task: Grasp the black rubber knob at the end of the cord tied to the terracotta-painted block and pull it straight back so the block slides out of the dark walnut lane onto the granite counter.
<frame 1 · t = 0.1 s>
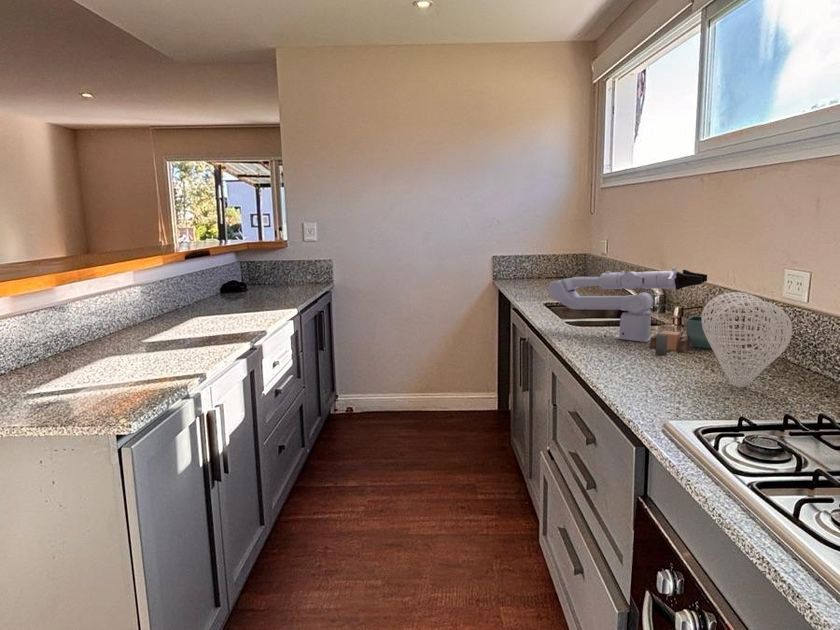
hand: (704, 279, 178), 22 cm above the worktop, tool horizontal, fingers open, 7 cm apart
lane: (669, 348, 180), on the worktop
flower pot: (701, 347, 182), on the worktop
tethered block: (669, 348, 180), on the worktop
heart: (737, 387, 137), on the worktop
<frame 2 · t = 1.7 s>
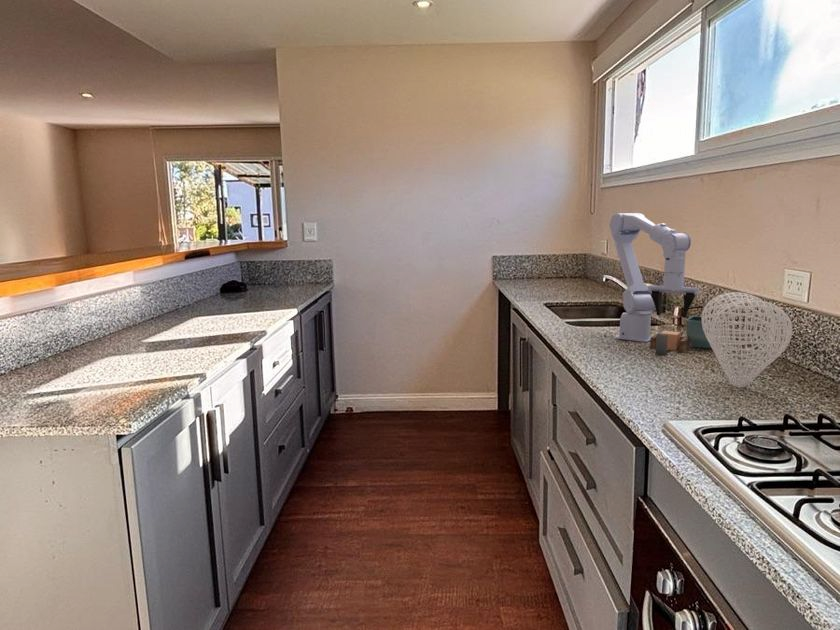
hand: (671, 316, 177), 10 cm above the worktop, tool pointing down, fingers open, 7 cm apart
nothing on the worktop moved.
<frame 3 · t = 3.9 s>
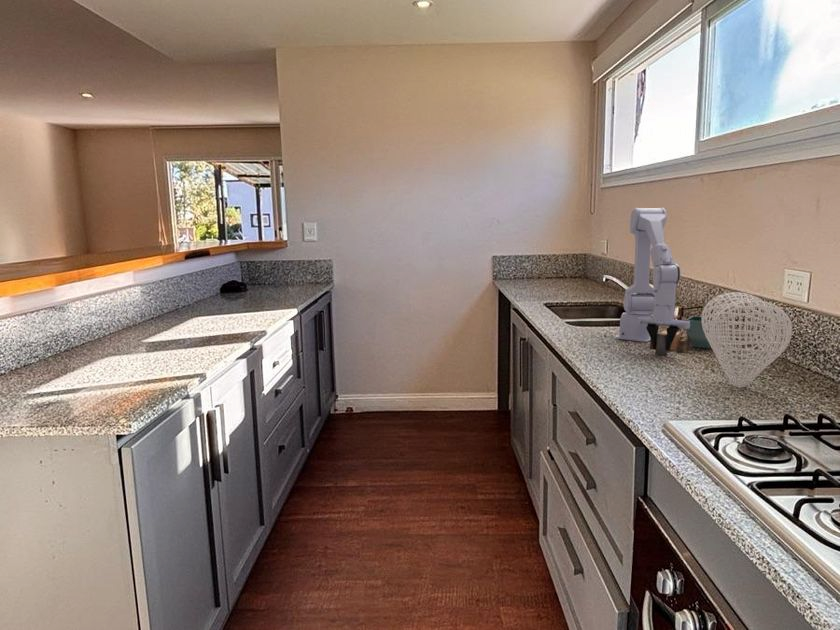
hand: (661, 349, 171), 1 cm above the worktop, tool pointing down, fingers closed on tethered block, 3 cm apart
tethered block: (669, 348, 180), on the worktop, touching gripper
everything else where it was.
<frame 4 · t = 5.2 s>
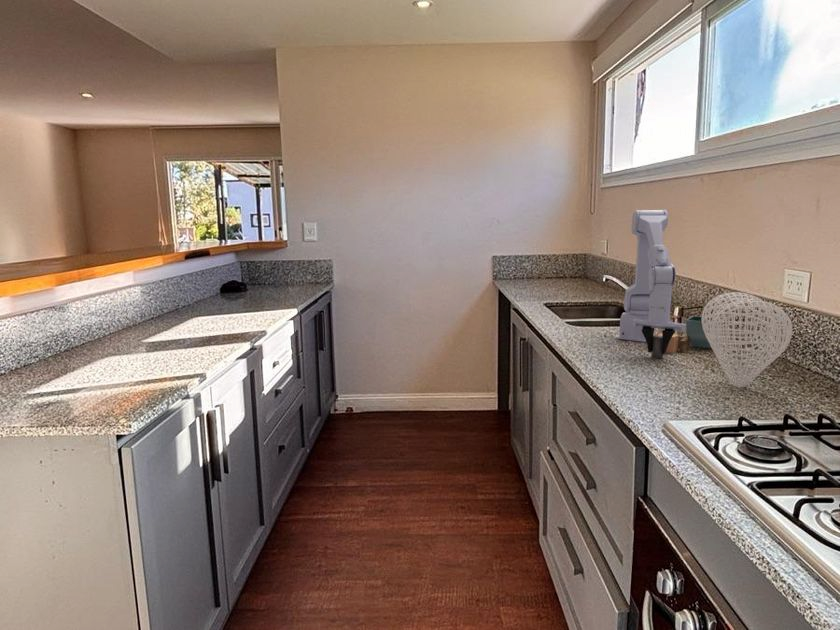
hand: (656, 352, 167), 1 cm above the worktop, tool pointing down, fingers closed on tethered block, 3 cm apart
tethered block: (666, 350, 176), on the worktop, touching gripper
everything else where it was.
when the fingers open (1 cm above the worktop, at t = 6.7 s): tethered block stays where it is, on the worktop.
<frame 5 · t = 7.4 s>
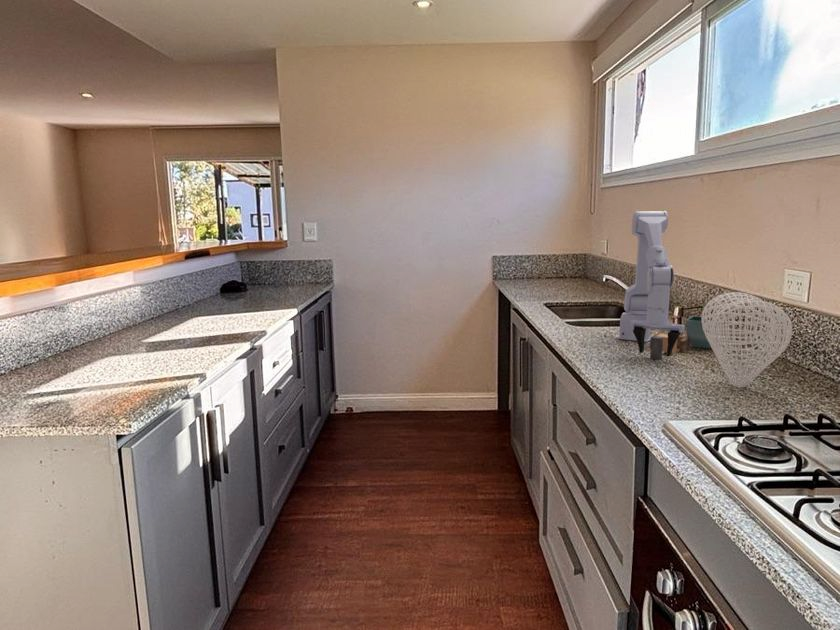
hand: (655, 353, 166), 1 cm above the worktop, tool pointing down, fingers open, 7 cm apart
tethered block: (665, 351, 175), on the worktop
everything else where it was.
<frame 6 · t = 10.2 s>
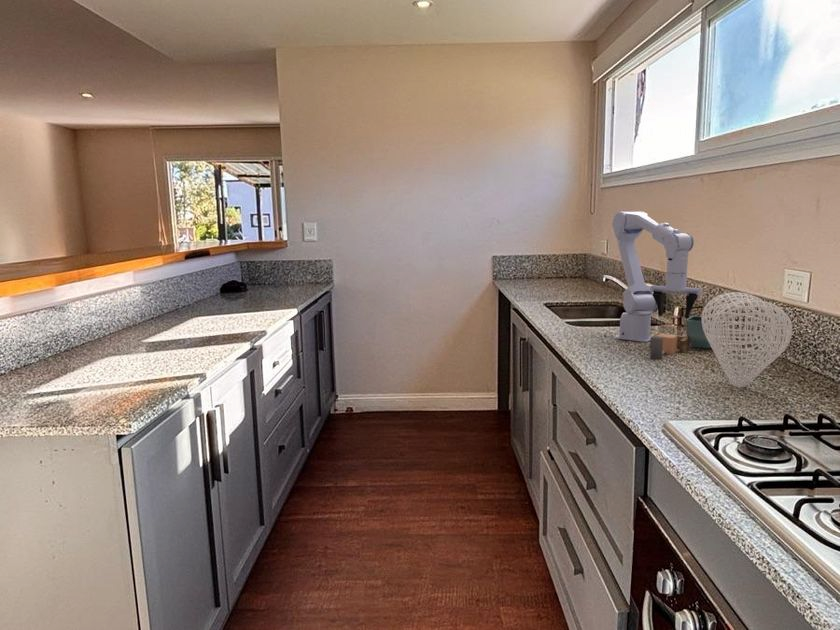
hand: (673, 316, 176), 10 cm above the worktop, tool pointing down, fingers open, 7 cm apart
nothing on the worktop moved.
at the end: tethered block inside the target area (8.2 cm from its centre), on the worktop; the gripper is holding nothing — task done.
